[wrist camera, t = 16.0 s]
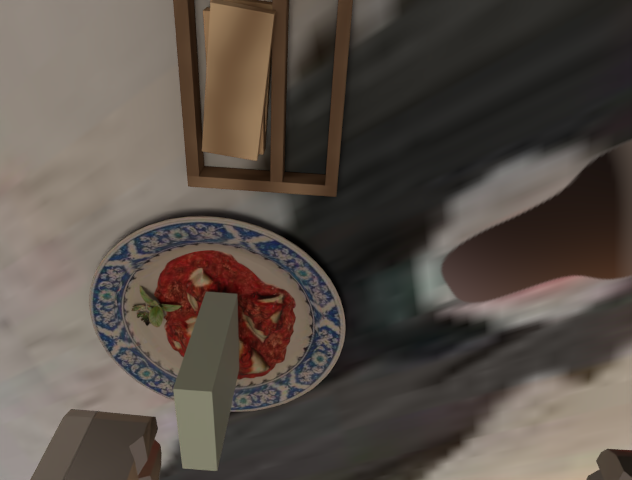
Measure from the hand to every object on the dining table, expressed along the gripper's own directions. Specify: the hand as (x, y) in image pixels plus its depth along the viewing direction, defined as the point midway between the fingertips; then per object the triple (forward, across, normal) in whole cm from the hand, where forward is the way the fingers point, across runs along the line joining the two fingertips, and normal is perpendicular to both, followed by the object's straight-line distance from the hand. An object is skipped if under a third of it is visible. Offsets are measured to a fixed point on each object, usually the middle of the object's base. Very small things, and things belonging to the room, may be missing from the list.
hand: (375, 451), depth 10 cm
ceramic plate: (+38, +11, +30) cm, 49 cm away
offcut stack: (+38, +8, +5) cm, 39 cm away
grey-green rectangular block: (+35, +10, +30) cm, 47 cm away
